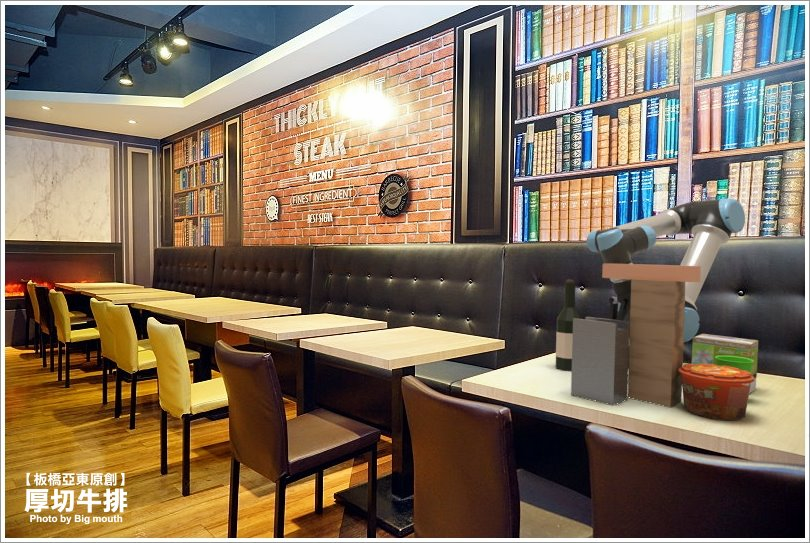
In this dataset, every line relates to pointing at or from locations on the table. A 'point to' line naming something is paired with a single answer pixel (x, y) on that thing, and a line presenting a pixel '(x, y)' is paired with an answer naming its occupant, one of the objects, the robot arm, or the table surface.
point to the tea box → (724, 350)
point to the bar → (652, 272)
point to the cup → (735, 362)
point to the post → (656, 341)
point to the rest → (600, 359)
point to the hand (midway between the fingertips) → (646, 345)
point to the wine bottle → (566, 329)
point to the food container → (715, 390)
